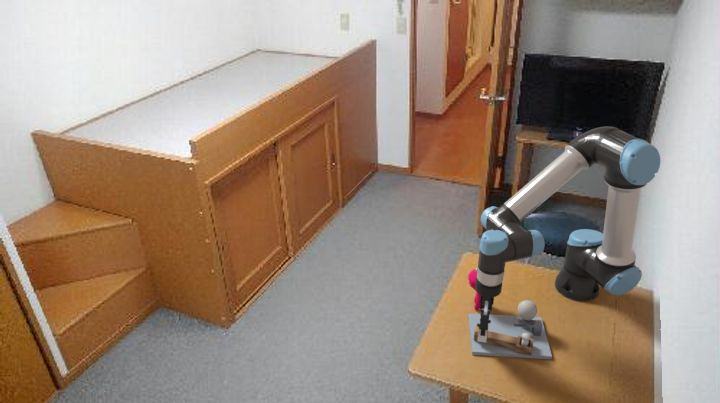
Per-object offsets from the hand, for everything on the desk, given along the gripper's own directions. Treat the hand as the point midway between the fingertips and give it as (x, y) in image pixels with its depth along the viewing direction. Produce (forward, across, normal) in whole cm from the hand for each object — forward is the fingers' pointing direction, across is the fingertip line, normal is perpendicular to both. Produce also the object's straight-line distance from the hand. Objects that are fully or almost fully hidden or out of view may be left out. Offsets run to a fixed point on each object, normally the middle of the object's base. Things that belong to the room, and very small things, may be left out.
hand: (481, 340), depth 171 cm
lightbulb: (+3, -12, +13) cm, 18 cm away
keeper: (+3, -9, +13) cm, 16 cm away
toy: (+3, -20, -3) cm, 20 cm away
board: (+3, -7, +8) cm, 11 cm away
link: (+1, -2, +6) cm, 7 cm away
